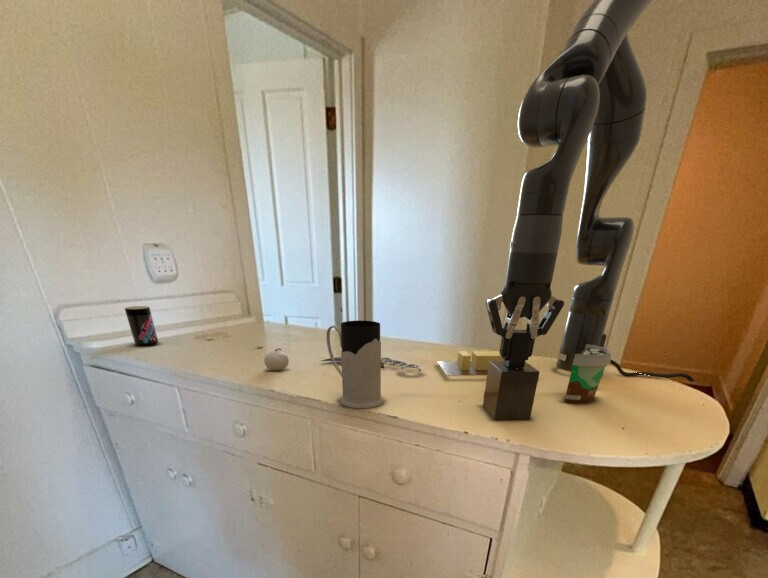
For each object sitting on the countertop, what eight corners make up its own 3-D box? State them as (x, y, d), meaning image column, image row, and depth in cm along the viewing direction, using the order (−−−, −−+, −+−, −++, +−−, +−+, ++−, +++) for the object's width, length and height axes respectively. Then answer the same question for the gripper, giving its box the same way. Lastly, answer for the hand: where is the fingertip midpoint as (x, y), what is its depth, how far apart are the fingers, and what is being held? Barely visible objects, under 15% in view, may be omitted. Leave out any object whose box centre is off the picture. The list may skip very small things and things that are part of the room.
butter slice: (464, 365, 110) (466, 351, 109) (469, 370, 106) (470, 355, 104) (457, 365, 110) (458, 351, 108) (461, 370, 106) (462, 355, 104)
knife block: (515, 405, 88) (524, 360, 83) (529, 419, 81) (539, 371, 76) (482, 406, 87) (489, 360, 82) (494, 420, 80) (501, 371, 75)
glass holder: (361, 411, 83) (360, 329, 75) (315, 395, 91) (309, 320, 83) (391, 401, 89) (393, 323, 81) (345, 387, 97) (342, 315, 89)
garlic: (287, 366, 112) (285, 345, 109) (290, 371, 108) (288, 350, 105) (264, 367, 110) (261, 346, 107) (266, 373, 106) (263, 351, 103)
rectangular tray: (516, 365, 116) (517, 360, 115) (535, 379, 104) (536, 374, 104) (436, 365, 114) (437, 361, 114) (447, 380, 103) (447, 375, 102)
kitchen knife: (509, 406, 85) (523, 329, 78) (516, 413, 82) (531, 333, 74) (495, 406, 85) (507, 329, 77) (501, 413, 82) (515, 333, 74)
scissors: (318, 358, 114) (339, 349, 121) (319, 364, 114) (339, 355, 122) (414, 374, 102) (431, 363, 110) (414, 381, 103) (430, 369, 110)
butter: (508, 365, 111) (510, 351, 109) (514, 370, 107) (516, 355, 105) (470, 365, 111) (472, 351, 109) (475, 370, 106) (477, 355, 104)
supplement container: (135, 347, 128) (124, 309, 122) (134, 343, 133) (123, 306, 127) (160, 345, 131) (150, 308, 125) (157, 341, 136) (148, 305, 130)
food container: (593, 409, 86) (608, 358, 81) (562, 403, 89) (574, 354, 84) (603, 394, 95) (617, 347, 90) (574, 389, 98) (586, 343, 92)
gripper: (498, 249, 65) (483, 364, 75) (586, 250, 66) (560, 364, 76) (485, 248, 72) (472, 354, 81) (565, 249, 73) (543, 354, 82)
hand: (514, 358), depth 78 cm, fingers closed on kitchen knife, 3 cm apart
